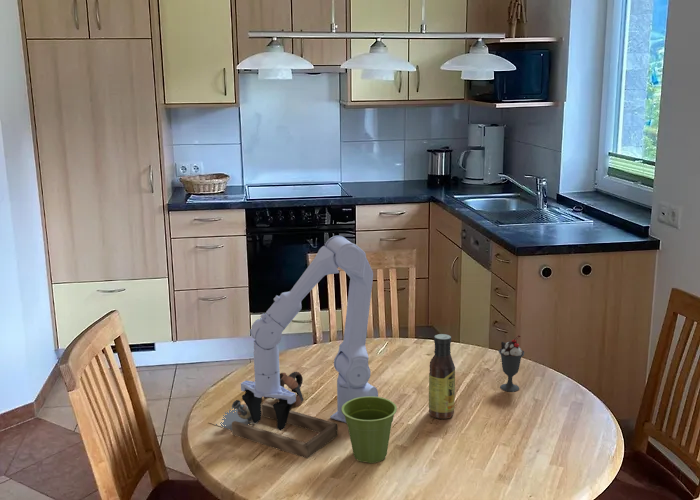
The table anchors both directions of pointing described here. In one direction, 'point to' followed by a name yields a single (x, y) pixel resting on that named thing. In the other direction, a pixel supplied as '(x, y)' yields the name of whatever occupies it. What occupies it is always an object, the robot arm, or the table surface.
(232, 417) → the slate coaster
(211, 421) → the table surface
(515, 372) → the sundae
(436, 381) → the sauce bottle
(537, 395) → the table surface
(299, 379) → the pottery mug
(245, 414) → the vase
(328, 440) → the walnut tray
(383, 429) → the plant pot
